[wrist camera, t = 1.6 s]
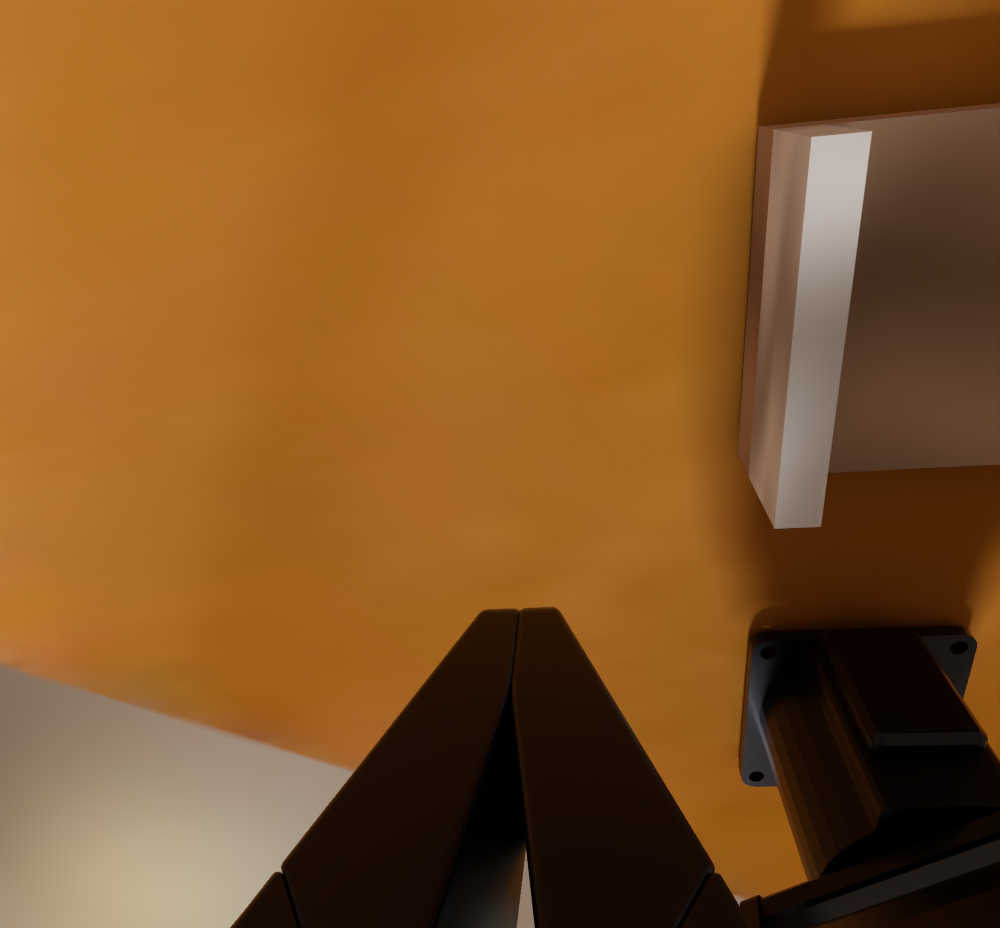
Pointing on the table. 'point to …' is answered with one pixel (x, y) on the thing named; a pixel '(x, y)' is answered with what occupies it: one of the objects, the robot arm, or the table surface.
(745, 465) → the l-shaped bracket
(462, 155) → the table surface
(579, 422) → the table surface
